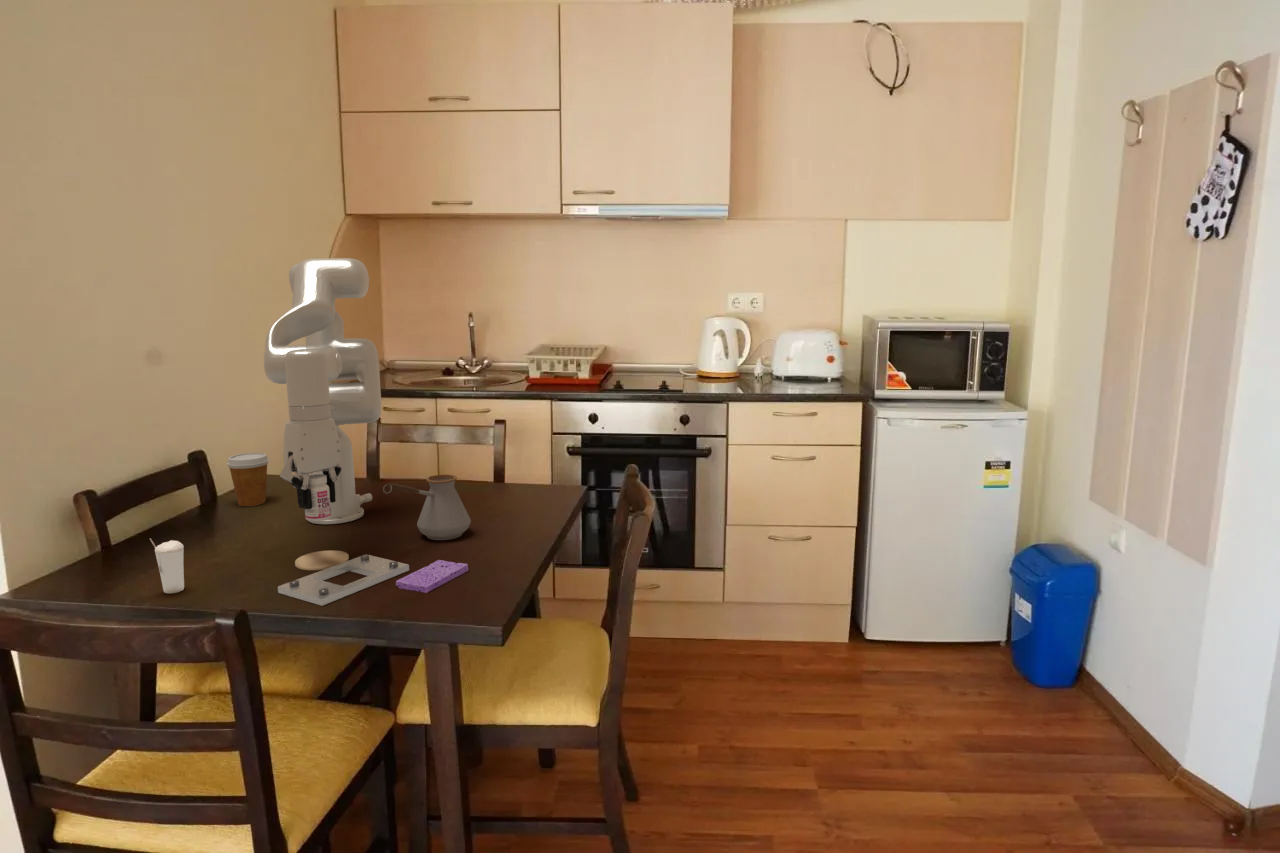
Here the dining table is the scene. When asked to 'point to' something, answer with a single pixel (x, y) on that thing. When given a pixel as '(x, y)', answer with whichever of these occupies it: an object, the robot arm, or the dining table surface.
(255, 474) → the disposable coffee cup
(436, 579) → the sponges
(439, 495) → the coffee pot
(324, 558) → the cork coaster
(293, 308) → the robot arm
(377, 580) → the flange plate
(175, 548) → the milkshake
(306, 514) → the pill bottle
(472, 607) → the dining table surface
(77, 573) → the dining table surface
